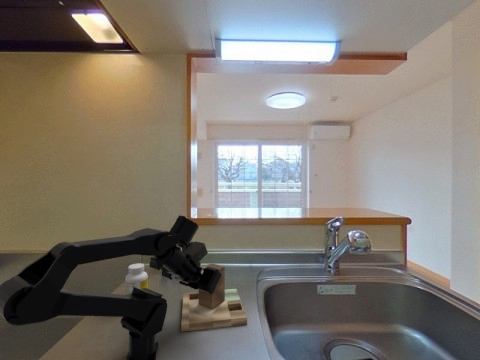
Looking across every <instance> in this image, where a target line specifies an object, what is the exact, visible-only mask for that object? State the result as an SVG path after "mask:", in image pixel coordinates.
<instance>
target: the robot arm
mask: <svg viewBox="0 0 480 360" xmlns="http://www.w3.org/2000/svg"><path fill="white" fill-rule="evenodd" d="M199 228H200V227H199V225H198V223H197V222H195V221H194V220H191V219H190V218H187V217H186V216H185V215H178V216H177V218H176V220H175V222H174V224H173V225H172V226H171V228H170V230H169V231H167V230H161V229H156V228H151V227H145V228H142V229H141V228H140V229H138V230H134V232H133V231H132V233H131V232H130V234H127V235H122V236H114V237H105V238H97V239H89V240H88V239H87V240H80V241H73V242H72V241H61V242H59V243H57V244H56V245H54V246H53V247H52V248H50V249H49V250H48V251H47V252H46V253H45V254H44V255H41V256H40V257H39V258H37V259H36V260H34V261H33V262H32V263H30V264H28V265H26V267H24V268H23V269H22V270H21V271H19V272H18V274H17V275H15V276H12V277H11V278H9V279H7V280H5V281H4V282H2V284H0V316H1V317H2V318H3V319H4V321H6V322H7V323H8V324H10V325H12V326H17V327H20V326H27V325H33V324H40V323H45V322H48V321H50V320H52V319H55V318H57V317H63V316H65V317H66V316H74V317H106V318H107V317H108V318H109V317H113V318H114V317H115V318H117V317H118V318H121V320H120V321H119V322H120V325H121V327H122V328H123V329H125V330H126V331H128V352H127V353H128V354H127V355H126V358H125V360H157V356H158V355H157V354H158V350H159V342H156V335H157V334H159V333H161V332H162V331H163V327H164V325H165V320H166V316H167V311H168V303H167V301H168V300H167V299H166V298H164V297H163V296H164V295H163V294H161V293H159V292H157V291H154V290H152V289H149V288H148V289H147V288H143V289H138V288H136V287H133V291H132V293H131V294H128V295H126V294H119V293H109V292H108V293H107V292H99V291H91V290H90V291H89V290H80V289H79V290H77V289H68V288H67V289H66V288H64V286H65V284H66V283H67V281H68V279H69V277H70V276H71V274H72V273H73V271H74V270H75V269H77V267H78V266H79V265H84V264H85V265H86V264H89V263H90V264H91V263H96V262H100V261H106V260H112V259H117V258H123V257H129V256H133V255H135V256H136V255H137V256H147V257H149V256H151V257H150V258H149V259H150V261H149V268H150V269H154V270H158V271H161V269H162V267H163V269H162V271H161V277H163V278H164V279H165V280H168V281H172V280H173V277H172V275H173V276H174V279H175V280H176V281H179V282H178V284H179V285H183V286H185V287H189V288H190V289H193V290H198V291H199V290H201V291H202V292H205V293H208V294H210V295H211V294H213V293H214V290H215V288H216V286H217V284H218V282H219V280H220V278H221V275H222V273H221V272H220V271H219V269H216V268H212V267H206V268H202V267H203V266H202V267H201V264H202V263H201V260H203V259H204V257H205V256H207V255H208V253H209V252H208V249H207V246H206V244H205V243H204V242H201V241H192V240H193V239H194V237H195V234H196V233H197V231H198V230H199Z"/></svg>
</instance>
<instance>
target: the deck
mask: <svg viewBox="0 0 480 360" xmlns="http://www.w3.org/2000/svg"><path fill="white" fill-rule="evenodd" d="M182 297H183V298H182V311H181V321H180V322H181V323H180V324H181V325H180V326H181V328H180V329H181V333H183V332H189V331H199V330H200V331H201V330H209V329H218V328H226V327H235V326H243V325H248V316H247V312H246V311H245V307H244V306H243V303H242V301H241V297H240V295H239V293H238V289H237V288H229V289H225V301H224V302H223V303H221V304H220V305H218V306H217V307H216V308H214V309H213V310H212V309H209V308H207V307H204V306H202V305H199V291H194V292H193V291H192V292H184V293H183V296H182Z"/></svg>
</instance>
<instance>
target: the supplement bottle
mask: <svg viewBox="0 0 480 360" xmlns="http://www.w3.org/2000/svg"><path fill="white" fill-rule="evenodd" d="M127 268H128V270H127V271H128V273H127V274H126V276H125V278H124V279H125V280H124V284H125V285H124V287H125V289H124V290H125V294H124V295H128V294H131V293H132V291H133V287H136V288H138V289H143V288H147V289H149V281H148V279H149V277H148V273H147V272H146V271H145V264H144V263H138V262H137V263H133V264H130V265H129V266H128V267H127Z"/></svg>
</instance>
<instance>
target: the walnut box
mask: <svg viewBox="0 0 480 360" xmlns="http://www.w3.org/2000/svg"><path fill="white" fill-rule="evenodd" d="M206 267H212V268H216V269H219V271H220V272H221V273H222V275H221V278H220V280H219V282H218V284H217V286H216V288H215V290H214V293H213V294H211V295H210V294H208V293H205V292H202V291H201V290H199V289H198V292H199V305H202V306H204V307H207V308H209V309H212V310H213V309H214V308H216V307H217V306H218V305H220V304H221V303H223V302H224V301H225V290H226V287H225V285H226V281H225V280H226V278H225V277H226V275H225V274H226V269H225V268H226V266H223V265H220V264H216V263H212V262H211V263H208V264H207V265H204V266H202V268H206Z"/></svg>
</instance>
